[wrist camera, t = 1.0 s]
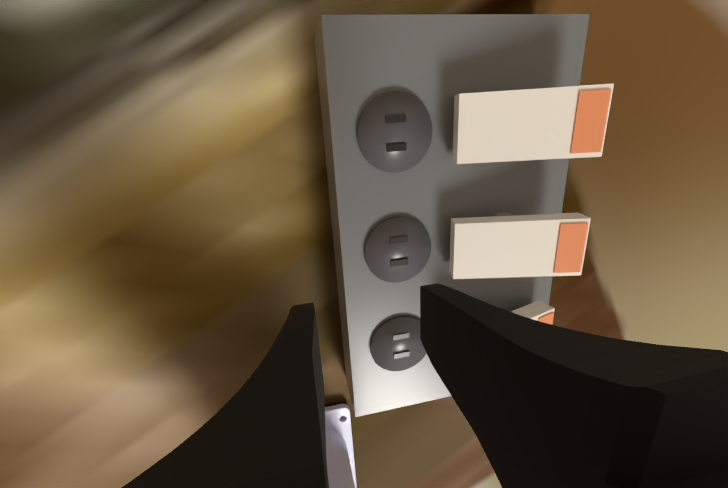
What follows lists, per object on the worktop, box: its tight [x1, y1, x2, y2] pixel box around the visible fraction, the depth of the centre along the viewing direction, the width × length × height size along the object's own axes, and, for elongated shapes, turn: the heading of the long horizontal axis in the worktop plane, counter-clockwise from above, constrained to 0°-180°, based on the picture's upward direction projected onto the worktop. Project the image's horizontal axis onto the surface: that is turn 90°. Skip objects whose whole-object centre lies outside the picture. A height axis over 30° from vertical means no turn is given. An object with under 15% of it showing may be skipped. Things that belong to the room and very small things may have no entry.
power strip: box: [314, 14, 589, 417], centre depth 19 cm, size 20×12×4 cm, turn 3°
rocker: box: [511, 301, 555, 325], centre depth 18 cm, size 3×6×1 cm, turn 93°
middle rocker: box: [449, 213, 591, 279], centre depth 16 cm, size 3×6×1 cm, turn 93°
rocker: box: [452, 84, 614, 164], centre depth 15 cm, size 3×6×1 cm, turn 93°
